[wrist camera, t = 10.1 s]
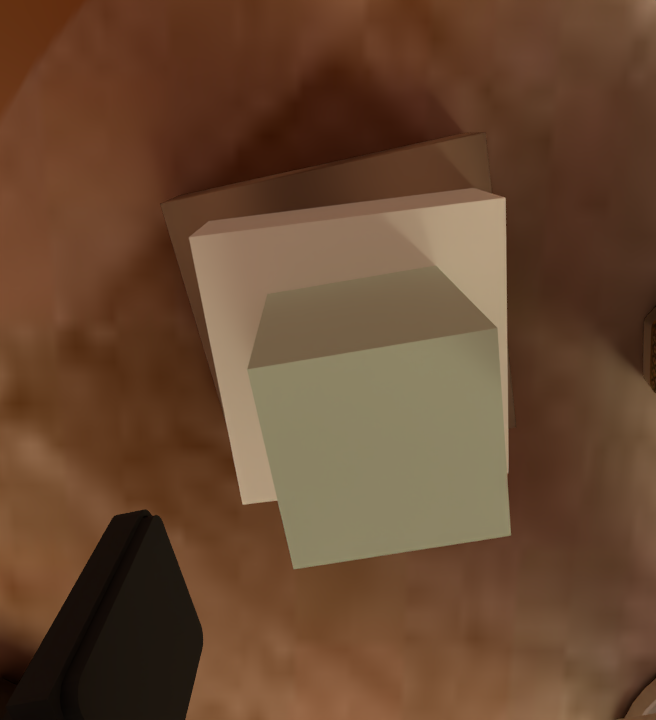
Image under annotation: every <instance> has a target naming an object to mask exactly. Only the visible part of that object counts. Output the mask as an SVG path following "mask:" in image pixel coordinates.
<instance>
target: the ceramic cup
mask: <svg viewBox="0 0 656 720" xmlns="http://www.w3.org/2000/svg"><path fill="white" fill-rule="evenodd" d="M643 376H644V379H645V380H646V381H647V383H648V384H649V385H650V386H651V388H652V389H653V391H654V392H655V393H656V307H655V308H654V309H653V310H652V311H651V312H650V313H649V314H648V315H647V317H646V318H645V320H644V336H643Z"/></svg>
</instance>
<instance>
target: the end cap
mask: <svg viewBox="0 0 656 720" xmlns="http://www.w3.org/2000/svg"><path fill="white" fill-rule="evenodd" d="M16 687H17V685H15V684H13V683H11V682H9V681H7V680H5V679H3V678H0V720H2V719H3V717H4V715H5V714H6V712H7V709H6V707H5V706H6V705H7V703H8V701H9V699H10V698H11V696H12V694H13V692H14V690H15V689H16Z"/></svg>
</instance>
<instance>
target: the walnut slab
mask: <svg viewBox="0 0 656 720" xmlns="http://www.w3.org/2000/svg"><path fill="white" fill-rule="evenodd" d="M468 188H476V189H479V190H482V191H485V192H489V193H492V188H491V178H490V169H489V159H488V150H487V140H486V132H482V133H462V134H457V135H453V136H448V137H444V138H439V139H434V140H430V141H425V142H421V143H416V144H412V145H407V146H403V147H398V148H394V149H389V150H384V151H380V152H375V153H371V154H366V155H362V156H357V157H353V158H348V159H344V160H339V161H334V162H330V163H325V164H321V165H316V166H312V167H307V168H303V169H298V170H294V171H289V172H284V173H280V174H275V175H271V176H266V177H262V178H257V179H253V180H248V181H244V182H239V183H234V184H230V185H225V186H221V187H216V188H212V189H207V190H203V191H198V192H193V193H189V194H184V195H180V196H177V197H175V198H173V199H170V200H168V201H166V202H163V203H161V204H160V205H161V209H162V212H163V215H164V219H165V222H166V225H167V228H168V232H169V235H170V238H171V242H172V245H173V248H174V252H175V255H176V258H177V262H178V265H179V268H180V272H181V275H182V278H183V282H184V285H185V288H186V292H187V295H188V298H189V302H190V305H191V308H192V311H193V315H194V318H195V321H196V325H197V328H198V331H199V335H200V338H201V341H202V345H203V348H204V351H205V355H206V358H207V361H208V365H209V368H210V371H211V375H212V378H213V381H214V385H215V388H216V391H217V394H218V398H219V401H220V404H221V408H222V411H223V414H224V409H223V405H222V400H221V395H220V390H219V385H218V380H217V375H216V370H215V365H214V360H213V355H212V350H211V345H210V340H209V335H208V330H207V325H206V320H205V315H204V310H203V305H202V300H201V295H200V290H199V285H198V280H197V276H196V271H195V266H194V261H193V256H192V251H191V246H190V241H189V237H190V236H191V235H192V234H193V233H195V232H196V231H197V230H198V229H200V228H201V227H202V226H203V225H205V224H206V223H207V222H208V221H213V220H221V219H229V218H237V217H245V216H253V215H261V214H269V213H277V212H285V211H293V210H301V209H309V208H317V207H325V206H333V205H341V204H349V203H357V202H364V201H372V200H380V199H388V198H396V197H404V196H412V195H420V194H428V193H436V192H444V191H452V190H460V189H468ZM507 361H508V429H510V428H515V427H516V419H515V409H514V400H513V390H512V380H511V371H510V361H509V351H508V342H507ZM224 418H225V414H224ZM225 421H226V419H225Z"/></svg>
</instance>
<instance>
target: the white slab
mask: <svg viewBox="0 0 656 720" xmlns="http://www.w3.org/2000/svg"><path fill="white" fill-rule="evenodd" d="M189 241H190V246H191V251H192V256H193V261H194V266H195V271H196V276H197V280H198V285H199V290H200V295H201V300H202V305H203V310H204V315H205V320H206V325H207V330H208V335H209V340H210V345H211V350H212V355H213V360H214V365H215V370H216V375H217V380H218V385H219V390H220V395H221V400H222V405H223V409H224V414H225V419H226V424H227V429H228V434H229V439H230V444H231V449H232V454H233V459H234V464H235V469H236V474H237V479H238V484H239V489H240V494H241V499H242V504H252V503H260V502H269V501H277V496H276V491H275V487H274V483H273V479H272V474H271V470H270V466H269V461H268V457H267V453H266V448H265V444H264V440H263V436H262V431H261V427H260V423H259V418H258V414H257V410H256V405H255V401H254V397H253V392H252V388H251V384H250V380H249V375H248V371H247V368H248V365H249V361H250V357H251V353H252V350H253V346H254V342H255V338H256V335H257V331H258V327H259V323H260V320H261V316H262V312H263V309H264V305H265V301H266V297H267V294H271V293H277V292H283V291H289V290H294V289H300V288H306V287H312V286H318V285H324V284H330V283H336V282H341V281H347V280H353V279H359V278H365V277H371V276H377V275H383V274H389V273H394V272H400V271H406V270H412V269H418V268H424V267H430V266H437V267H438V268H439V269H440V270H441V271H442V272H443V273H444V274H445V275H446V276H447V277H448V278H449V279H450V280H451V281H452V282H453V283H454V284H455V285H456V286H457V287H458V288H459V289H460V290H461V291H462V292H463V293H464V294H465V295H466V296H467V298H468V299H469V300H470V301H471V302H472V303H473V304H474V305H475V306H476V307H477V308H478V309H479V310H480V311H481V312H482V313H483V314H484V315H485V316H486V317H487V318H488V319H489V320H490V321H491V322H492V323H493V324H494V325H495V326H496V327H497V329H498V344H499V360H500V375H501V390H502V405H503V420H504V436H505V451H506V466H507V473H509V449H508V361H507V272H506V198H505V197H502V196H499V195H495V194H492V193H489V192H485V191H482V190H479V189H476V188H468V189H460V190H452V191H444V192H436V193H428V194H420V195H412V196H404V197H396V198H388V199H380V200H372V201H364V202H357V203H349V204H341V205H333V206H325V207H317V208H309V209H301V210H293V211H285V212H277V213H269V214H261V215H253V216H245V217H237V218H229V219H221V220H213V221H208V222H207V223H206V224H205V225H203V226H202V227H201V228H200V229H198V230H197V231H196V232H195V233H193V234H192V235H191V236H190V237H189Z"/></svg>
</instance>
